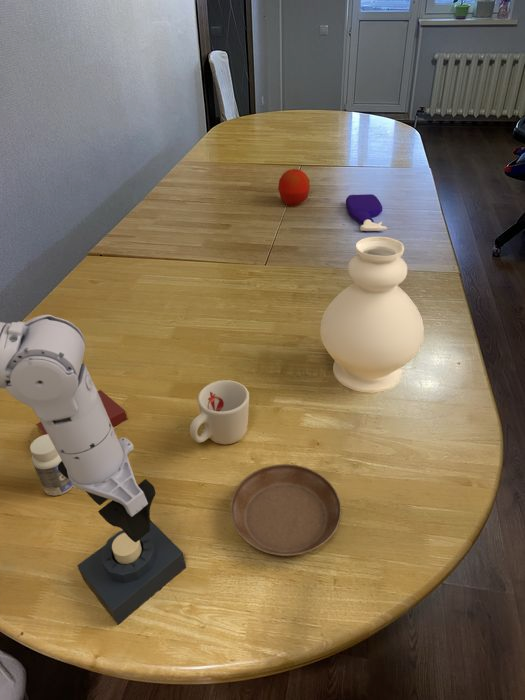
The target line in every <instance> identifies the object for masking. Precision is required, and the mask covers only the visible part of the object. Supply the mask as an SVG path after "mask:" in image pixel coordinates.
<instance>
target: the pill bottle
mask: <svg viewBox="0 0 525 700" xmlns="http://www.w3.org/2000/svg"><path fill="white" fill-rule="evenodd" d="M29 451H30V454H31V455H32V457H31V463H32V465H33V468H34V470H35V472H36V475H37V477H38V479H39V482H40V484H41V487H42V489H43V491H44V492H45V493H46V495H49V496H53V497H54V496H61V495H64V494H66V493H68V492H69V491H71V490H72V489H73V487H75V486H74V485H73V484H72V483H71V481H70V479H68V478H66V477H64V476H63V475H62V473H61V472H60V471H59V470H58V465H59V463H60V462H61V461H62V460H61V458H60V456H59V454H58V452H57V451H56V449H55V447H54V445H53V443H52V441H51V439H50V437H49V436H48V434H46V435H43V436H42V435H40V436H38V437H36V438H35V439H34V440H33V441H32V442H31V444H30V446H29Z"/></svg>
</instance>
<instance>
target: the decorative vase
mask: <svg viewBox="0 0 525 700" xmlns="http://www.w3.org/2000/svg"><path fill="white" fill-rule="evenodd" d="M354 248H355V252H356V255H354V256H353V257H352V258H351V259H350V261H349V262H348V265H347V274H348V276H349V277H350V279H351V280H352V281H353V283H351V284H350V285H348V286H347V287H346V288H345V289H343V290H342V291H340V292H339V293H338V294H337V295H336V296H335V297H334V298H333V300H331V302H330V303H329V305H327V307H326V309H325V311H324V313H323V314H322V317H321V322H320V326H319V327H320V328H319V333H320V334H319V335H320V339H321V343H322V345H323V347H324V349H325V350H326V352H327V354H329V356H330V357H331V358H332V359H333V360H334V362H333V366H332V372H333V373H332V374H333V376H334V377H335V379H336V380H337V382H339V384H341V385H343V386H344V387H346V388H348V389H349V390H353V391H356V392H359V393H367V394H377V393H383V392H386V391H389V390H391V389H393V388H394V387H396V386H397V385H398V384H399V383H400V382H401V380H402V378H403V377H402V375H403V369H402V368H403V367H404V366H406V365H407V364H409V362H411V361H412V360H413V359H414V358H415V357H416V356H417V354H418V353H419V352H420V350H421V348H422V345H423V343H424V337H425V326H424V325H425V324H424V321H423V318H422V315H421V313H420V310H419V309H418V307H417V306H416V304H415V303H414V302H413V301H414V300H412V299H411V297H410V296H409V295H408V294H407V292H405V291H404V289H402V288H401V287H400V284H402V283H403V282H404V281H405V279H406V278H407V276H408V265H407V263H406V262H405V260H404V259H403V258H402V256H403V255H404V253H405V246H404V243H402V242H401V241H400V240H397V239H395V238H392V237H387V236H368V237H364V238H362V239H359V240H358V241H356V243H355V247H354Z"/></svg>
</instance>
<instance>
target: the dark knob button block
mask: <svg viewBox="0 0 525 700" xmlns="http://www.w3.org/2000/svg"><path fill="white" fill-rule="evenodd" d="M122 533H125V532H124V531H123V530H122V529H121V530H119V531H118V532H116V533H115V534H113V535H112V536H111V537H109V538H108V539H107V541H106V543H105V544H104V545H103V546H102V547H100V548H99V549H97V550H96V551H94V552H93V553H92V554H90V555H89V556H87V558H85V559H84V560H82V561H81V562H80V563H78V564H77V565H76V566H77V569H78V572H79V573H80V577H81V579H82V581H83V582H84V583H85V584H86V587H88V589H89V590H90V591H91V592H92V594H93V595H94V596H95V597H96V599H97V600H98V601H99V603H100V604H101V605H102V607H103V608H104V609H105V610H106V612H107V613H108V614H109V616H110V617H111V618H112V620H113V621H114V622H115V624H116V625H117V626H119V625H120V624H121V623H123V622H124V621H125V620H126V619H127V618H128V617H130V616H131V615H132V614H133V613H134V612H135V611H137V610H138V609H139V608H140V607H141V606H143V605H144V604H145V603H146V602H147V601H149V599H151V598H152V597H153V596H154V595H155V594H157V593H158V592H159V591H160V590H161V589H163V588H164V587H165V586H166V585H167V584H169V583H171V581H172V580H173V579H175V578H176V577H177V576H178V575H179V574H180V573H181V572H183V571H184V570H185V569H187V565H186V560H185V559H186V558H185V555H184V552H183V551H182V550H181V549H180V548H179V547H178V546H177V545H176V544H175V543H174V541H173V540H172V539H170V537H168V536H167V535H166V533H164V531H163V530H161V529H160V528H159V527H158V525H156V523H155V522H153V520H151V519H150V531H149V532H148V533H147V534H146V535H144V536H143V537H142V538H141V539H140V540H139V541H140V544H141V548H142V551H141V554H140V556H139V558H138V559H137V560H136V561H134V562H132V563H130V564H121V563H119V562H117V560H116V559H115V556H114V553H113V551H112V544H113V541H114V540H115V538H116V537H117V536H119V535H120V534H122Z"/></svg>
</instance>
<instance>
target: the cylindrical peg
mask: <svg viewBox="0 0 525 700" xmlns="http://www.w3.org/2000/svg"><path fill="white" fill-rule="evenodd" d="M112 551H113V553H114V556H115V559H116V560H117V562H119V563H121V564H130V563H132V562H134V561H136V560H137V559H138V558H139V556H140V554H141V551H142V548H141V544H140V541H139V540H138V541H137V542H134V541H132V540H131V539H130V538H129V537H128V536H127V535H126V533H122V534H120V535H119V536H117V537H116V538H115V540H114V541H113V544H112Z"/></svg>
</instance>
